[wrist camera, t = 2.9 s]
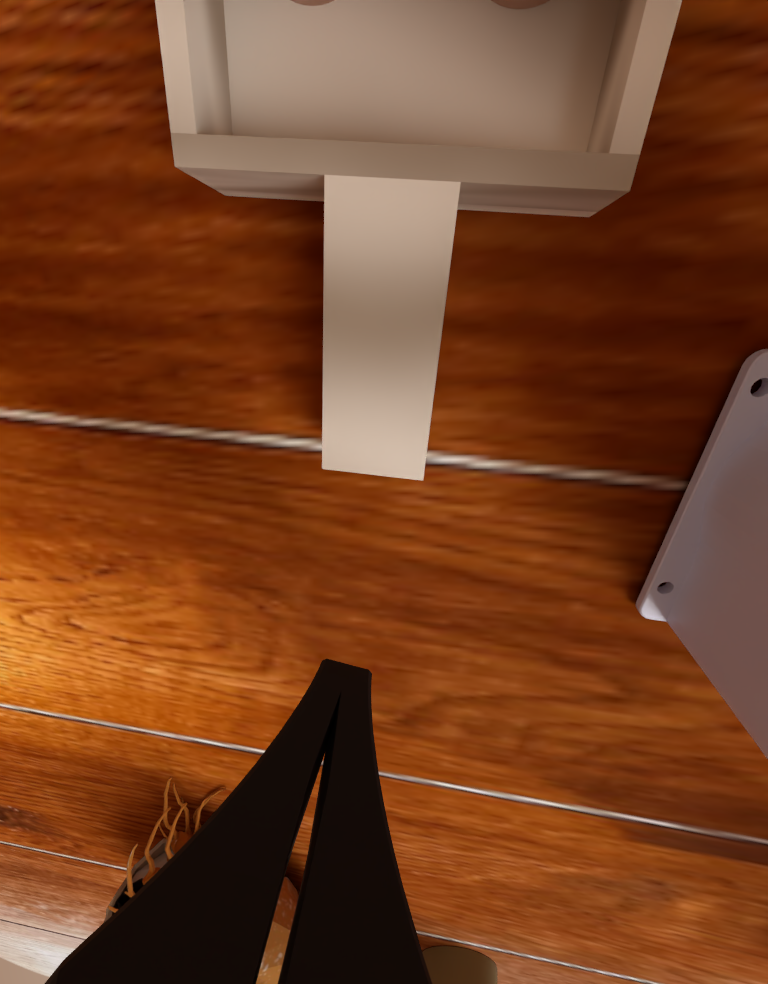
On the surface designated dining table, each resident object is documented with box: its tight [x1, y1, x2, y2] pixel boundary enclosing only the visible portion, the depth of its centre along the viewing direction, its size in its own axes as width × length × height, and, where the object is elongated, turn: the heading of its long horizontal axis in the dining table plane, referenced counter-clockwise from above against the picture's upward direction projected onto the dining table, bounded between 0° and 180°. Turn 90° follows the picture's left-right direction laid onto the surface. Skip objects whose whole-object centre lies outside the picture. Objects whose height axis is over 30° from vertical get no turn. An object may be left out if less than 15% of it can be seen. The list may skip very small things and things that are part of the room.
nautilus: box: [104, 777, 298, 984], centre depth 24 cm, size 8×22×15 cm
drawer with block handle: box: [155, 0, 682, 481], centre depth 9 cm, size 17×10×2 cm, turn 176°
